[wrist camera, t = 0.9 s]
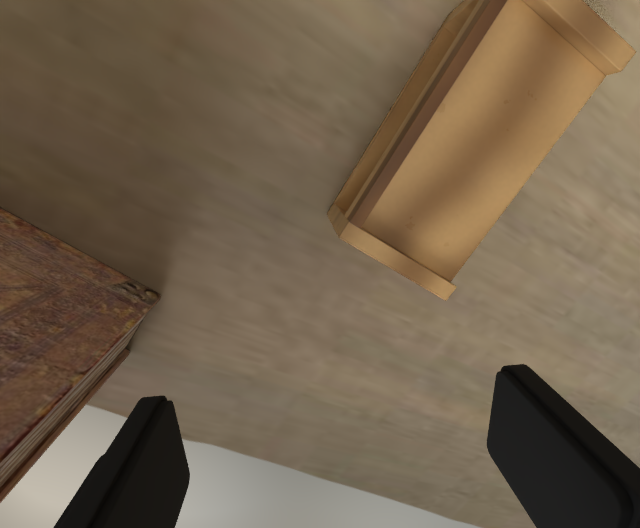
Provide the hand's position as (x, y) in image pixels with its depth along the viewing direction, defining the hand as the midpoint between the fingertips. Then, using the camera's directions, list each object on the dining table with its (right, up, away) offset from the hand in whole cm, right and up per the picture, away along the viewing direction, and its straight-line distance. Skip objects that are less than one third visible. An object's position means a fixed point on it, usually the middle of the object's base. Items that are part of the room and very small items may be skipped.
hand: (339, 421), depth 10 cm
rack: (+11, +16, +26) cm, 32 cm away
